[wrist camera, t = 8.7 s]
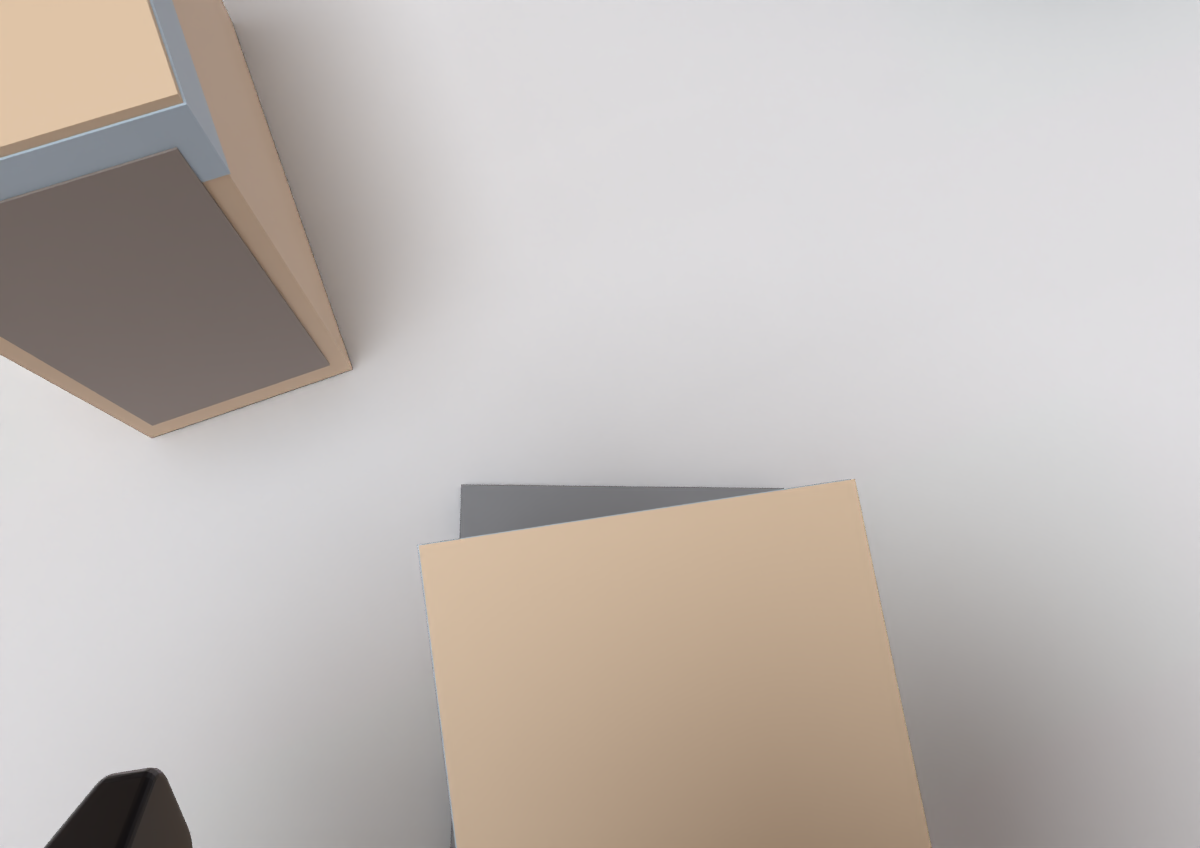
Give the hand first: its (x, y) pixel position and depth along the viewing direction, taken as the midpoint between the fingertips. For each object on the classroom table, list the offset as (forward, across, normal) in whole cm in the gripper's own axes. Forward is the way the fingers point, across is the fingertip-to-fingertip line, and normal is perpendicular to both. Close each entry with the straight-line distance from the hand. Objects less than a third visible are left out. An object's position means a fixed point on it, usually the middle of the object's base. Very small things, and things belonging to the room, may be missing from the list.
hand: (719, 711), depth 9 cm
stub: (+10, 0, +10) cm, 14 cm away
